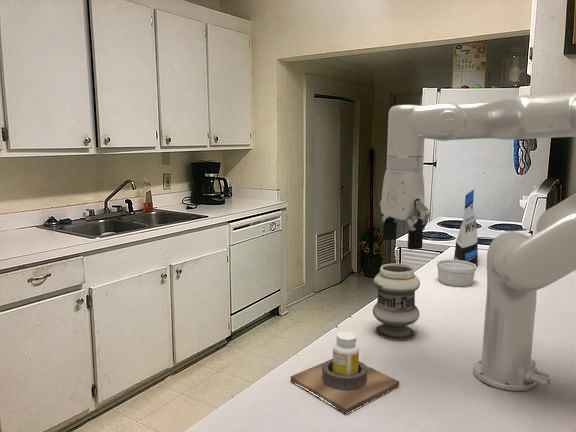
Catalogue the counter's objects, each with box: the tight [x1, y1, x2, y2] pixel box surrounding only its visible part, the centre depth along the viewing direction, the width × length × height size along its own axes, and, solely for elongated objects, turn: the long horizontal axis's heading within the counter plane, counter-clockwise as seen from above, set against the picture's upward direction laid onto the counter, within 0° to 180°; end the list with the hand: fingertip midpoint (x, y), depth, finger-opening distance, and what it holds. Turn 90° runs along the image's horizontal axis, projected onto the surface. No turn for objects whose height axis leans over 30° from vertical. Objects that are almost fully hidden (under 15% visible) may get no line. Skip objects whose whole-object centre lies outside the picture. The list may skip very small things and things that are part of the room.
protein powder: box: [453, 189, 479, 268], centre depth 192 cm, size 10×24×30 cm, turn 152°
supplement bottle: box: [332, 331, 360, 376], centre depth 98 cm, size 5×5×10 cm
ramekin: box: [436, 259, 477, 288], centre depth 169 cm, size 13×13×7 cm
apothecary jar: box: [372, 263, 421, 341], centre depth 124 cm, size 12×12×18 cm
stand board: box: [290, 358, 400, 415], centre depth 99 cm, size 16×16×4 cm
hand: (401, 244), depth 103 cm, fingers open, 9 cm apart
